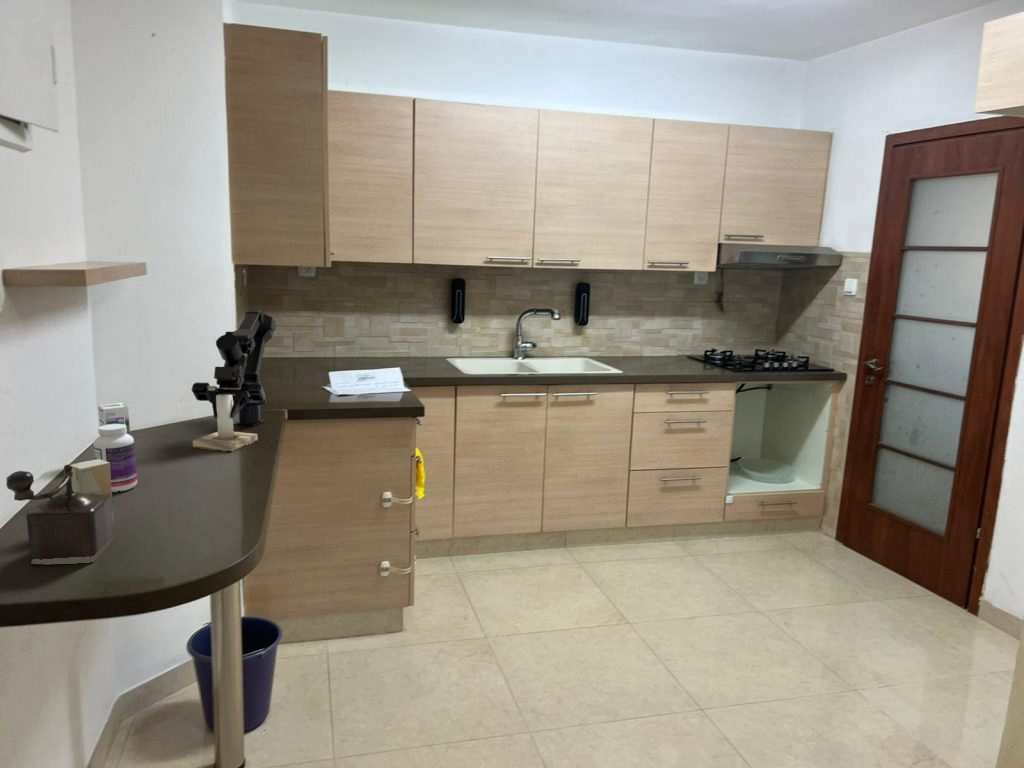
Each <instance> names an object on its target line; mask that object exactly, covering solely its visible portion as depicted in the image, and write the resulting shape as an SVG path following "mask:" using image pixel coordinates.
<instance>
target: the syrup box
mask: <svg viewBox="0 0 1024 768" xmlns="http://www.w3.org/2000/svg"><path fill="white" fill-rule="evenodd" d="M97 413H98V423H99V424H98V425H99V427H100V426H104V425H109V424H124V425H126V428H127V432H126V434H129V435H131V427H130V415H129V406H128V405H127V404H126V403H124V402H117V403H111V404H110V403H109V404H98V405H97Z"/></svg>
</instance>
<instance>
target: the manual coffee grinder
mask: <svg viewBox="0 0 1024 768" xmlns="http://www.w3.org/2000/svg"><path fill="white" fill-rule="evenodd" d="M71 465H72V464H69V463H68V464H64V467H63V471H64V472H63V478H62V480H61V481H60V483H59V484H58V486H56V487H55V488H54V489H52V490H50V491H48V492H45V493H41V494H35V493H34V491H33V490H32V485H33V484H34V482H35V480H34V475H33V474H32V473H31V472H30V471H25V470H19V471H17V470H16V471H14V472H12V473H11V474H10V475H8V476H6V488H7V489H8V490H10V491H11V492H13V493H14V496H13V497H14V498H13V499H14V500H15V501H21V502H22V501H32V500H33V501H37V500H38V501H39V500H42V501H40V502H39V503H38V505H37V506H36V507H34V509H32V510H31V511H29V512H28V513H27V514H26V522H27V533H28V545H29V552H30V553H29V554H30V561H31V560H33V559H40V560H42V559H54V558H69V557H87V556H89V557H91V556H94V555H95V554H96V553H97V552H98V551H99V550H100V549H101V548H102V547H103V546H104V545H105V544H106V543H107V542H108V541H109V540H110V539H111V538H112V537H113V536H114V537H115V531H114V516H113V517H112V508H113V503H112V504H111V494H85V493H80V492H74V491H73V489H72V476H73V472H72V466H71ZM64 487H65V491H63V492H61V490H62V489H64ZM59 492H61V493H59Z"/></svg>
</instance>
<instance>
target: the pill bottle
mask: <svg viewBox="0 0 1024 768" xmlns="http://www.w3.org/2000/svg"><path fill="white" fill-rule="evenodd" d="M97 430H98V434H99V436H98V437H97V438H95V439H94V441H93V443H92V444H93V445H92V447H93V453H94V454H93V455H94V460H96V459H101V460H104V461H107V462H110V474H111V491H112V493H118V491H120V492H125V491H128V490H130V489H133V488H134V487H135V486H136V485H137V483H138V474H137V472H138V471H137V460H136V449H135V440H134V437H133V436H132V435H131V434H130V435H129V434H126V432H127V428H126V425H124V424H109V425H104V426H100V425H99V427H98V428H97Z"/></svg>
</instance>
